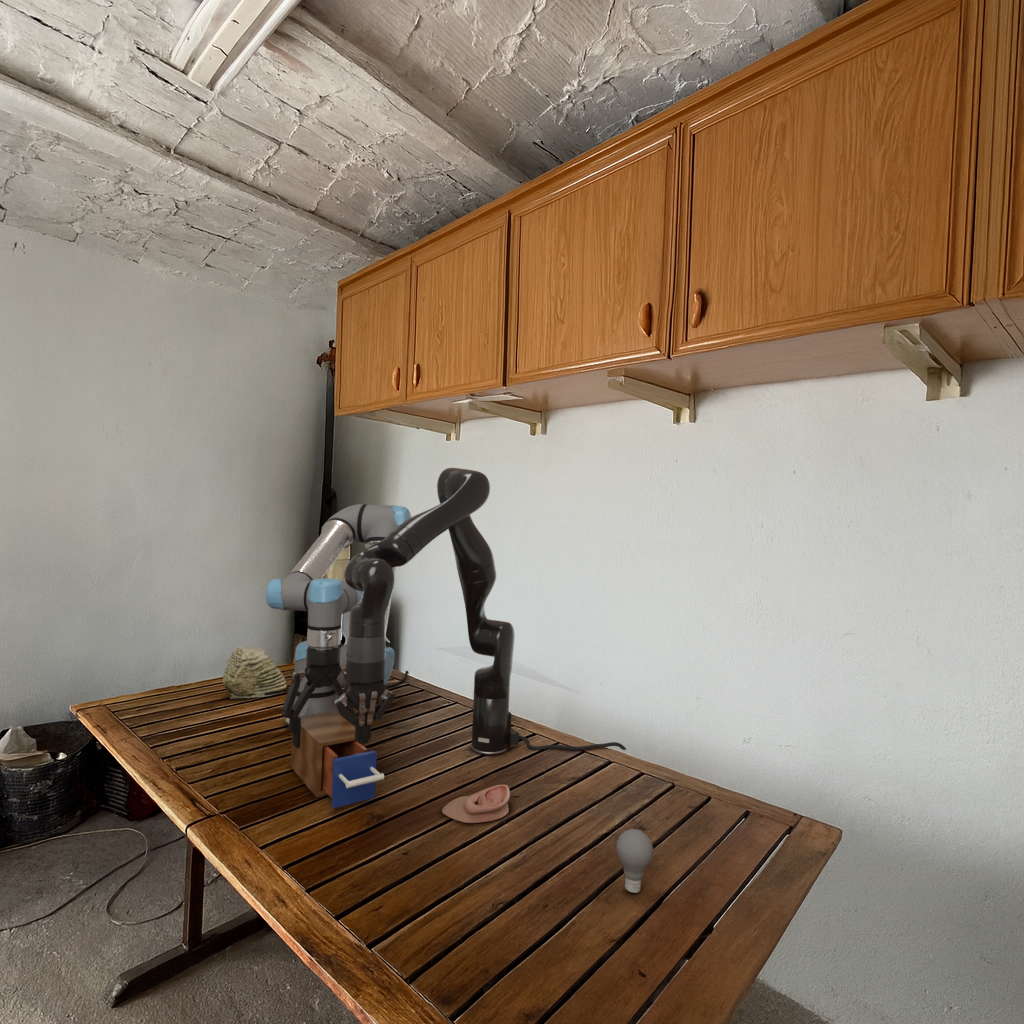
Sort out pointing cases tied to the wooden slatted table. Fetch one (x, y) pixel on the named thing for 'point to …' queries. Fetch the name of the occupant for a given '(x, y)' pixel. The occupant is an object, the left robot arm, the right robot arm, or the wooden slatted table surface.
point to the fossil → (252, 674)
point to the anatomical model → (480, 805)
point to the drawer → (349, 773)
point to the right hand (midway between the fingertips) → (362, 742)
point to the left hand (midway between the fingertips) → (320, 741)
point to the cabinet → (318, 745)
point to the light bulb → (634, 857)
